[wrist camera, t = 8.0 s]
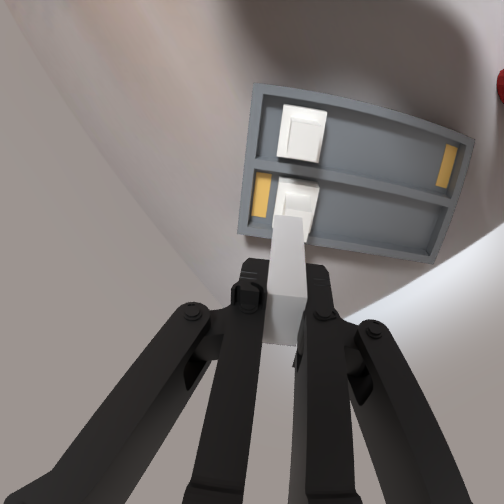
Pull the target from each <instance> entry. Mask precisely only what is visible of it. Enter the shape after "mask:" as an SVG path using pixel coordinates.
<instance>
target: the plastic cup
mask: <svg viewBox="0 0 504 504" xmlns="http://www.w3.org/2000/svg"><path fill="white" fill-rule="evenodd" d="M497 89H498V94H499V96H500V99H501V101H502V102H503V104H504V69H503V70H501V71H500V73H499V75H498V78H497Z"/></svg>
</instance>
